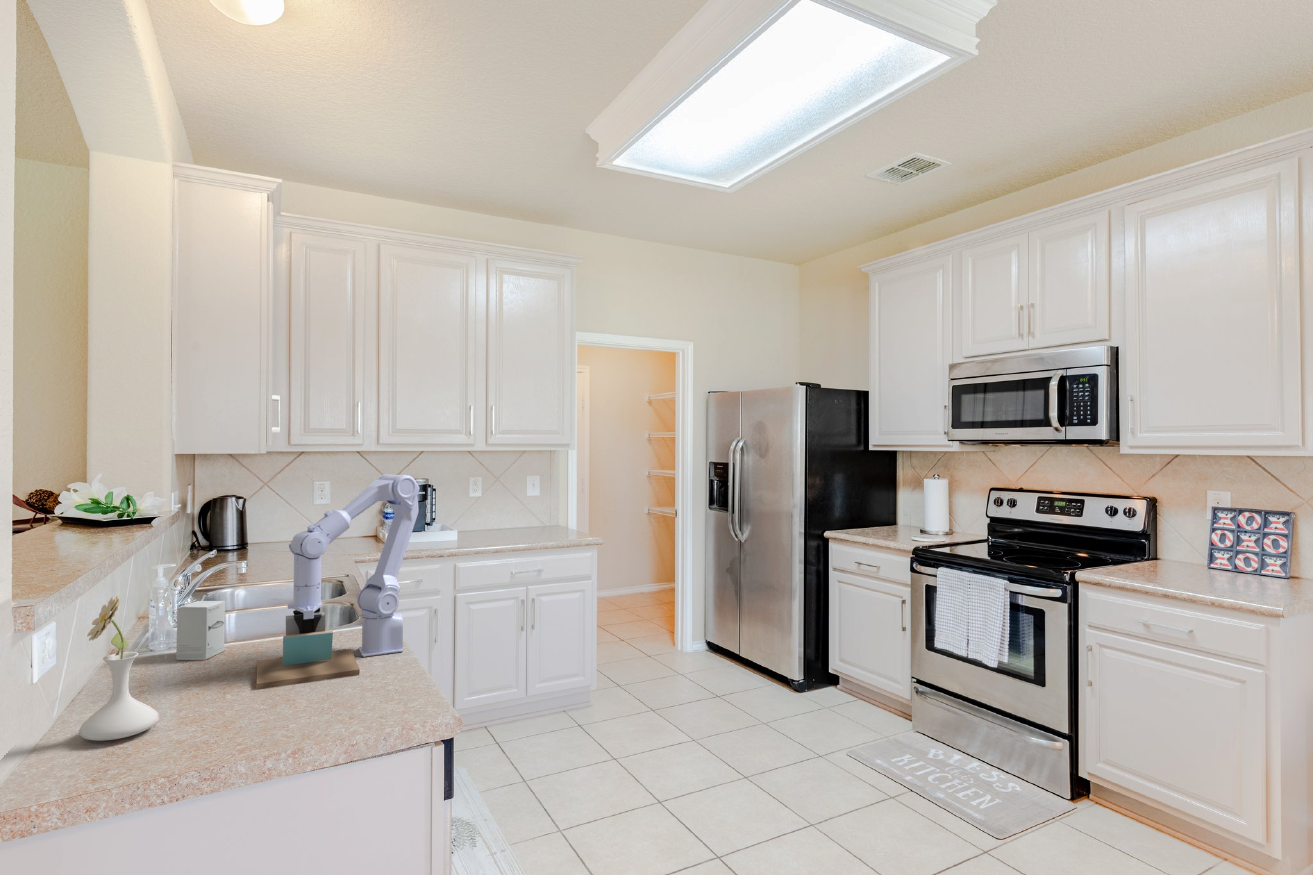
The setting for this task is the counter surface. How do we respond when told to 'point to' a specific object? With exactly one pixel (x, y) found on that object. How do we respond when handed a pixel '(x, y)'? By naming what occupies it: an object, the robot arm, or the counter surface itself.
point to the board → (305, 670)
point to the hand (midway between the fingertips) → (306, 643)
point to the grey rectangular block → (293, 628)
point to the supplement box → (200, 630)
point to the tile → (307, 647)
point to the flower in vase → (117, 690)
